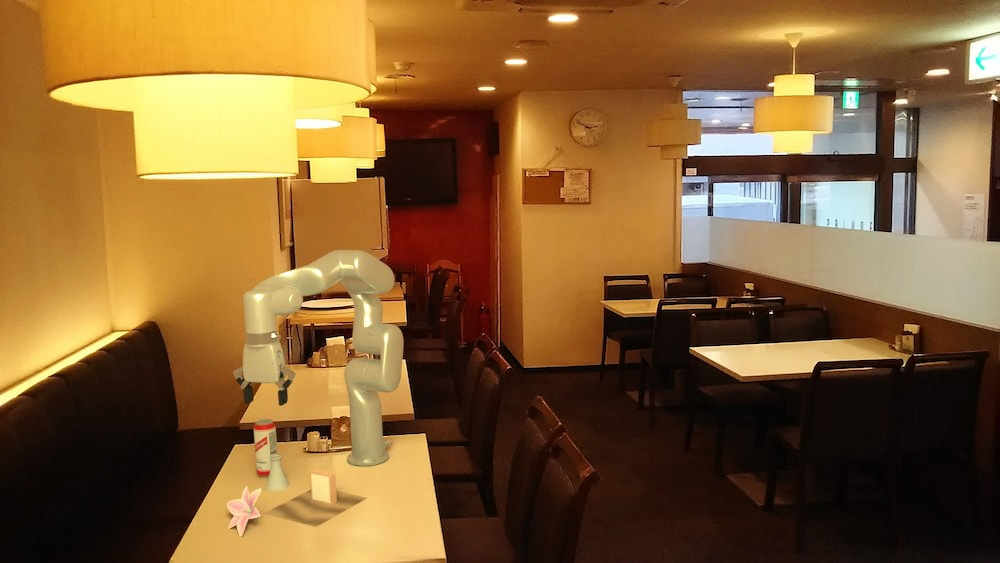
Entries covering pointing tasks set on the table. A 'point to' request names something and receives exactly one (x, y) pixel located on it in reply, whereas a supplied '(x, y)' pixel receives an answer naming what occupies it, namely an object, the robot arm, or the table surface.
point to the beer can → (264, 445)
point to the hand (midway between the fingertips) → (266, 403)
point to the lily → (243, 509)
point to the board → (314, 508)
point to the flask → (276, 475)
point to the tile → (323, 486)
